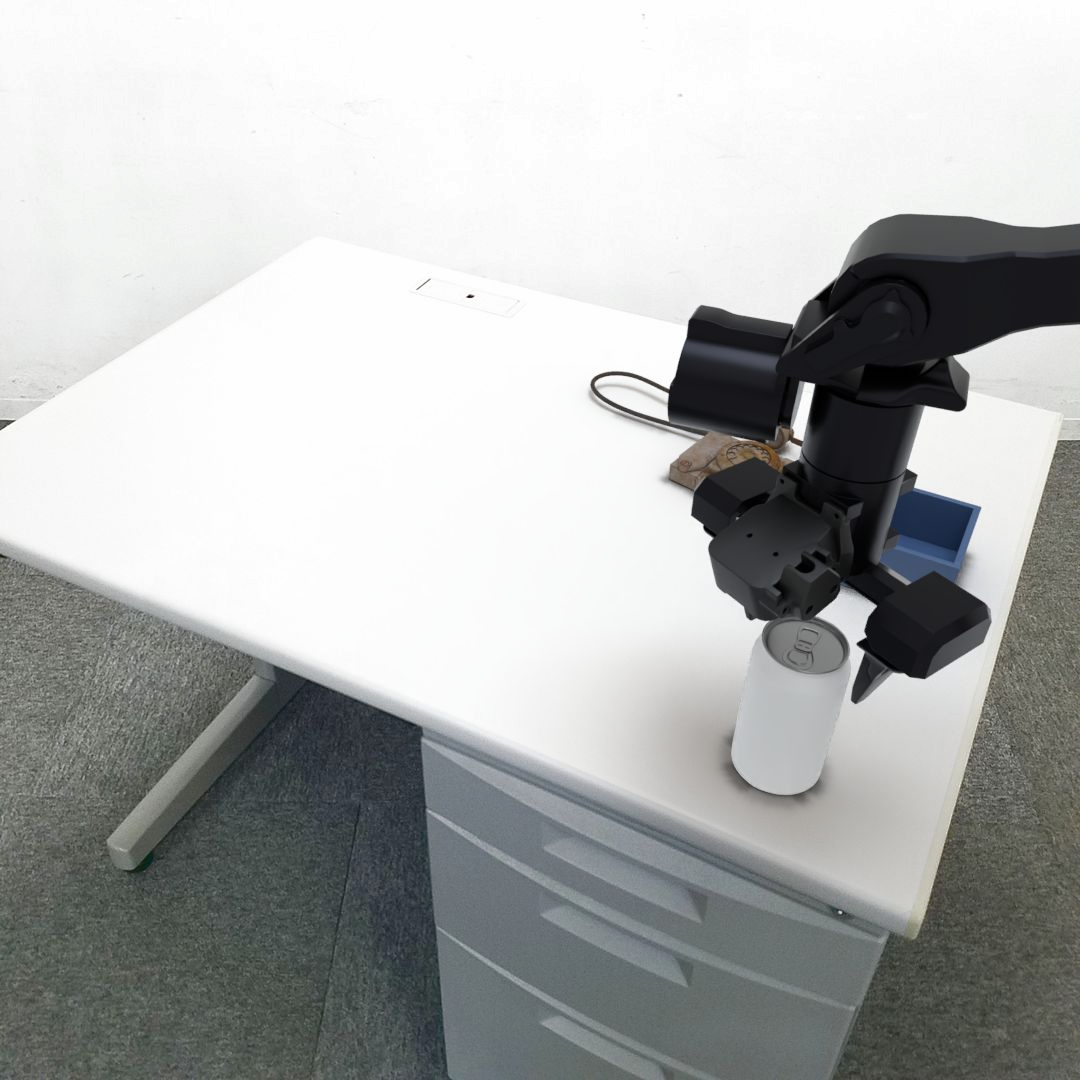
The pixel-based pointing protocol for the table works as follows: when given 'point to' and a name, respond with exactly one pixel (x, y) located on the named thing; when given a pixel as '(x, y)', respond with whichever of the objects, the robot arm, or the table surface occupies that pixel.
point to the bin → (930, 535)
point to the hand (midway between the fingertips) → (803, 656)
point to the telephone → (708, 444)
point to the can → (790, 704)
